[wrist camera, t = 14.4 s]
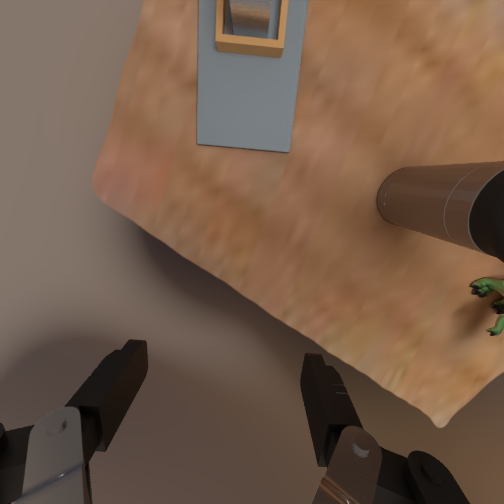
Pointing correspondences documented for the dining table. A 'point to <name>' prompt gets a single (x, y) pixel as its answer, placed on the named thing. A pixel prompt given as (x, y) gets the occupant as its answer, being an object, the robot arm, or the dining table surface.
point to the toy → (484, 289)
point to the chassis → (248, 77)
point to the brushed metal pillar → (251, 17)
